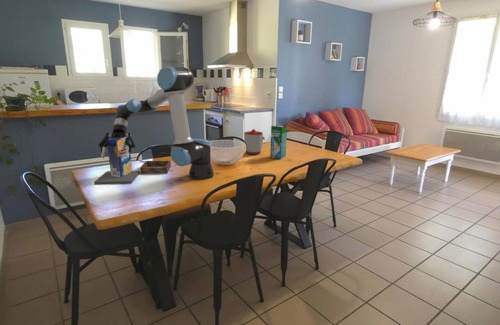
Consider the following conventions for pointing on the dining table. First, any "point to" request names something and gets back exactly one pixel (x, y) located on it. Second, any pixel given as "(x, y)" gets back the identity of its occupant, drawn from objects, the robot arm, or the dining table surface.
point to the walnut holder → (155, 167)
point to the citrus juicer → (253, 141)
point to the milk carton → (278, 141)
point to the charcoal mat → (117, 178)
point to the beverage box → (119, 157)
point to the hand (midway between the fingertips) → (114, 157)
